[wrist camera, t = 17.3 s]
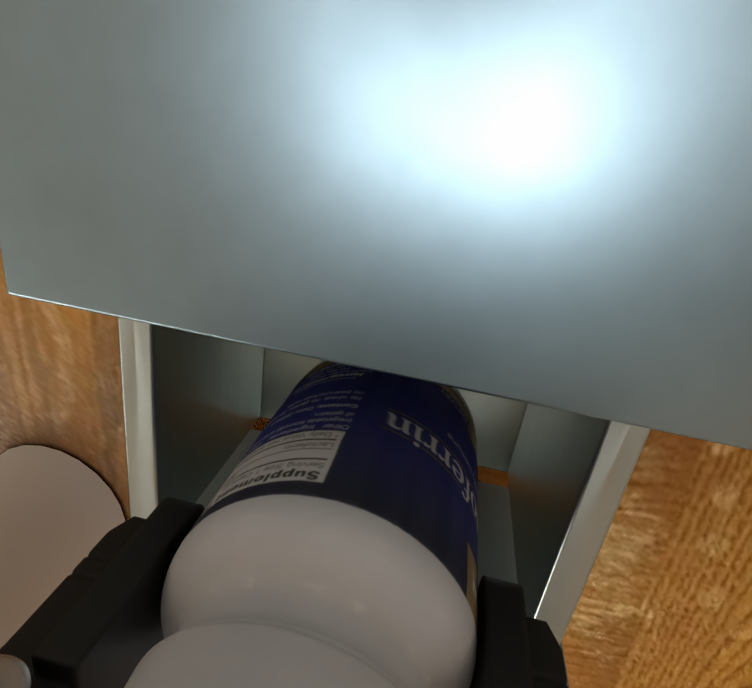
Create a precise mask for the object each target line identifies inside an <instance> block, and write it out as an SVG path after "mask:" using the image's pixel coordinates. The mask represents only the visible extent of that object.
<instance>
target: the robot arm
mask: <svg viewBox="0 0 752 688" xmlns="http://www.w3.org/2000/svg"><path fill="white" fill-rule="evenodd" d="M204 510H205V508H204V506H203V505H201V504H197V503H193V502H189V501H185V500H181V499H177V498H173V497H166V498H165V499H163V500H162V501H161V502H160V504H159V505H158V506H157V507H156V508H155V509H154V511H153V512H152V513H151V514H150V515H149V516H148V518H147V519H144V518H140V517H136V516H133V517H132V518H130V519H128V520H127V521H125V522H123V523H122V524H120V525H118V526H117V527H115V528H113V529H112V530H110V531H108V533H107V534H106V535H105V536H104V537H103V538H102V539H101V540H100V541H99V542H98V543H97V545H96V546H95V547H94V548H93V549H92V550H91V551H90V552H89V555H88V557H85V558H84V559H83V560H82V561H81V562H80V563H79V564H78V565H77V566H76V567H75V569H74V570H73V572H72V574H71V575H68V576H67V577H66V578H65V579H64V581H63V582H62V583H61V584H60V585H59V586H58V587H57V588H56V589H55V590H54V591H53V593H52V594H51V595H50V596H49V597H48V598H47V599H46V600H45V601H44V602H43V603H42V605H41V606H40V607H39V608H38V609H37V610H36V611H35V612H34V613H33V614H32V615H31V617H30V618H29V619H28V620H27V621H26V622H25V623H24V624H23V625H22V626H21V627H20V629H19V630H18V631H17V632H16V633H15V634H14V635H13V636H12V637H11V638H10V639H9V641H8V642H7V643H6V644H5V645H4V646H3V647H2V648H1V649H0V688H124V687H125V685H126V683H127V682H128V680H129V678H130V677H131V675H132V673H133V671H134V670H135V668H136V666H137V665H138V663H139V662H140V661H141V659H142V658H143V657H144V656H145V655H146V653H147V652H148V651H149V650H150V649H151V648H152V647H154V646H155V645H156V644H157V643H159V642H160V641H162V640H163V639H164V636H163V631H162V625H161V608H160V607H161V598H162V590H163V585H164V581H165V578H166V574H167V571H168V569H169V566H170V564H171V561H172V559H173V558H174V556H175V554H176V552H177V550H178V548H179V547H180V545H181V543H182V541H183V540H184V539H185V537H186V536H187V534H188V533H189V531H190V530H191V528H192V527H193V525H194V524H195V523H196V521H197V520H198V519H199V517H200V516H201V515H202V513H203V512H204ZM470 688H568V686H567V677H566V671H565V665H564V659H563V653H562V649H561V647H560V645H559V644H558V642H557V640H556V638H555V636H554V634H553V633H552V631H551V629H550V627H549V625H548V623H547V622H546V621H542V620H538V619H534V618H530V617H526V611H525V602H524V592H523V588H522V585H521V584H517V583H513V582H508V581H504V580H500V579H496V578H492V577H488V576H484V575H483V576H482V577H481V580H480V583H479V586H478V634H477V651H476V664H475V670H474V674H473V679H472V682H471V686H470Z"/></svg>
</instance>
